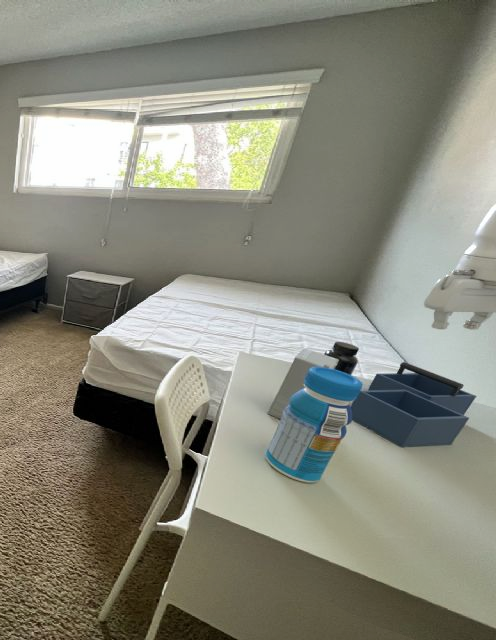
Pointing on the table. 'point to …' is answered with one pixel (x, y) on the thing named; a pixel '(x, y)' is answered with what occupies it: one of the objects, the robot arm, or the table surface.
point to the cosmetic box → (298, 378)
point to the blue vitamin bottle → (313, 424)
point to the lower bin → (407, 418)
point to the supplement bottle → (344, 356)
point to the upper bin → (426, 387)
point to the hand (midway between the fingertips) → (454, 328)
